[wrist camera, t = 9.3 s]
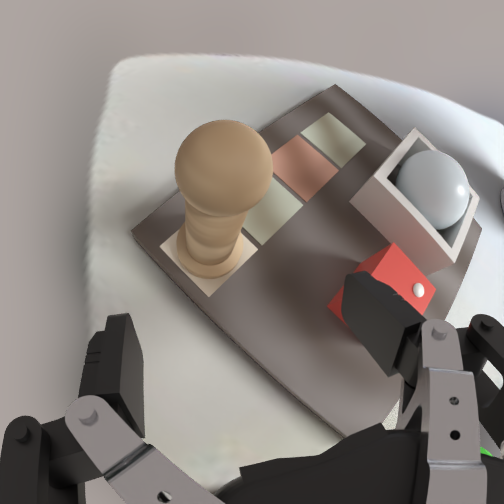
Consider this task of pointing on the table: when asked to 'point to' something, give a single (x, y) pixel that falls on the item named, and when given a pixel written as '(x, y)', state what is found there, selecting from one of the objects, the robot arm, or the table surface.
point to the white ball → (435, 187)
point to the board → (307, 262)
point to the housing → (411, 213)
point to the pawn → (219, 193)
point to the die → (393, 279)
